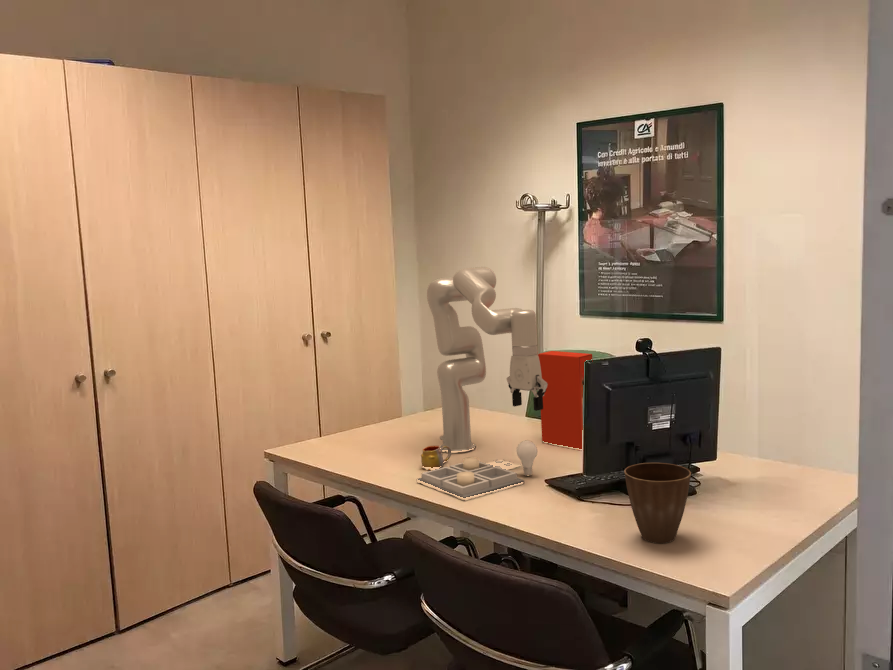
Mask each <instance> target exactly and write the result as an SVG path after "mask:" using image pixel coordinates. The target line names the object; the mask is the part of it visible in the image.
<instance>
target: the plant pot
mask: <svg viewBox="0 0 893 670" xmlns="http://www.w3.org/2000/svg"><path fill="white" fill-rule="evenodd" d="M623 471H624V479H625V484H626V489H627V495H628V498H629V502H630V506H631V510H632V513H633V516H634V520H635V522H636V523H635V524H636V525H637V527H638V530H639V533H640V535H641V538H642V539H643V540H644V541H646V542H649V543H653V542H654V544H666V542H668V543H671V542H674V540H675V538H676V536H677V534H678V530H679V528H680V525H681V523H682V519H683V516H684V512H685V509H686V505H687V500H688V497H689V496H688V494H689V489H690V482H691V476H692V472H691V471H690V469H689V468H688V467H684V466H682V465H678V464H673V463H667V462H643V463H642V462H641V463H637V464H632V465H629V466H627V467H626V468H625V469H624V470H623ZM670 541H671V542H670Z"/></svg>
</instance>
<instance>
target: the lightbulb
mask: <svg viewBox="0 0 893 670" xmlns="http://www.w3.org/2000/svg"><path fill="white" fill-rule="evenodd" d="M515 452H516V456H517V457H518V459H519V460H520V462H521V465H522V469H523V475H524V476H526V475H530V476H532V475H533V466H534V461H535V459H536V458H537V455H538V447H537V444H536V443H535V442H533V441H531V440H529V439H527V440H522V441H520V442H519V443H518V444H517V446H516V451H515ZM531 474H532V475H531Z"/></svg>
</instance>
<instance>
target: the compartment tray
mask: <svg viewBox="0 0 893 670" xmlns="http://www.w3.org/2000/svg"><path fill="white" fill-rule="evenodd" d="M420 476H421V477H419V478H417V479H418V480H420V481H423V482H425V483H428V484H431V485H433V486H435V487H438V488H440V489H442V490H444V491H447V492H449V493H452V494H455V495H457V496H460V497H463V498H466V497H470V496H474V495H478V494H482V493H486V492H490V491H494V490H497V489H501V488H504V487H507V486H510V485H514V484H518V483H521V482H524V483H525V479H522V478H519V477H518V473H517V472H515V471H512V470H506V469H502V468H499V467H493V465H490V464H486V462H482V461H480V458H478V457H475V456H469V457H465V458H462V462H460V463H455V464H452V465H449V466H445V467H443V466H442V467H441V468H439V469H435V470H432V471H431V470H427V471H425V472H421V474H420Z"/></svg>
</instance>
